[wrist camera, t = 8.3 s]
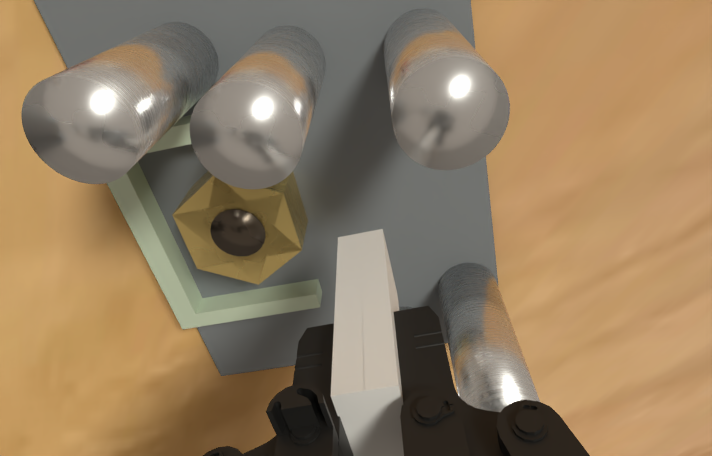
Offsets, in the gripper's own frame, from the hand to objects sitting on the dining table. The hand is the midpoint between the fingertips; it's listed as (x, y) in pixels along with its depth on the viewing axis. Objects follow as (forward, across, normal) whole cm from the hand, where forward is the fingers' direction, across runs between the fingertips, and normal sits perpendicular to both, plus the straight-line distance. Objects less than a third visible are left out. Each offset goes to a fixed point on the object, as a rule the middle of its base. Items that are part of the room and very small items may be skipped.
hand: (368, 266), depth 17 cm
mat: (+6, -2, 0) cm, 7 cm away
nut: (+6, -5, 0) cm, 8 cm away
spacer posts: (+6, -1, -1) cm, 6 cm away
